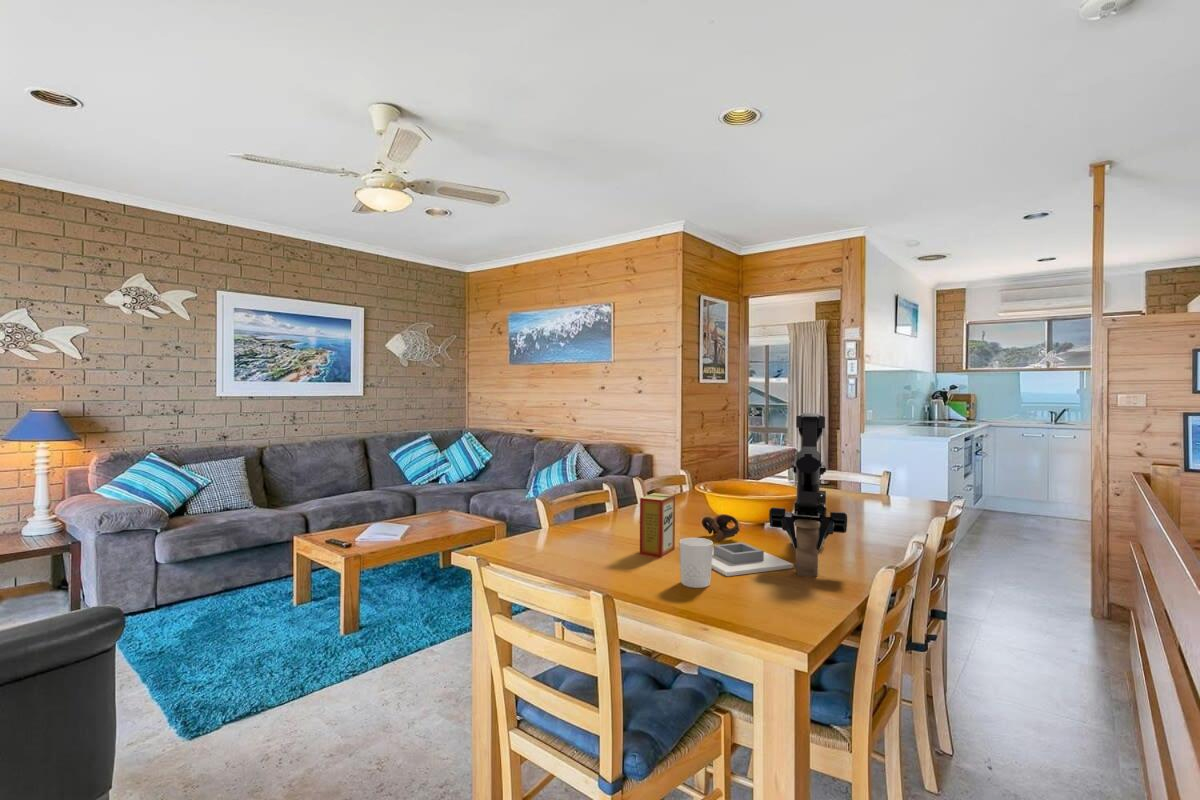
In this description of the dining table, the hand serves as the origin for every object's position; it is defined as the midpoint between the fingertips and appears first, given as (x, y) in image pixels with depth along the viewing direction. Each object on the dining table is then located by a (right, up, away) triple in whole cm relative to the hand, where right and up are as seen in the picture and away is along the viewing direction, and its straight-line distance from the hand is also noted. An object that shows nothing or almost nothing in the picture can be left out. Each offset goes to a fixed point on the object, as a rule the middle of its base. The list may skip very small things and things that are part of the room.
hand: (806, 548), depth 149 cm
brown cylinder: (0, -7, +2) cm, 7 cm away
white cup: (-29, -7, -7) cm, 30 cm away
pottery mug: (-14, -6, +37) cm, 40 cm away
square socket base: (-14, -6, +12) cm, 20 cm away
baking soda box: (-35, -6, +21) cm, 41 cm away
